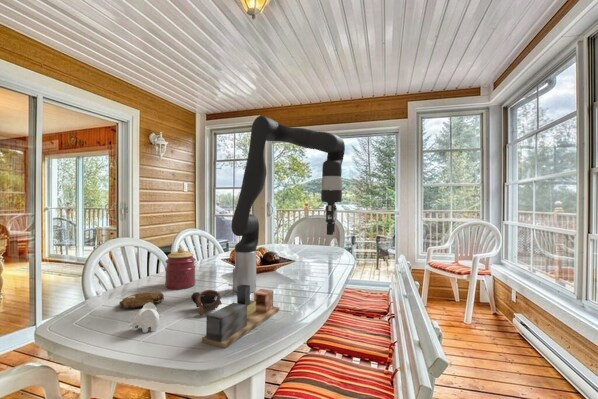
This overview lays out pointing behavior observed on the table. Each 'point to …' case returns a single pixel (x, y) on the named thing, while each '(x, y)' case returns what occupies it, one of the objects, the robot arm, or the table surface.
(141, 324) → the elephant figurine
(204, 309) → the pottery mug
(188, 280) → the canister
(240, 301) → the olive bar with post
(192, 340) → the table surface
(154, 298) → the decorative rock
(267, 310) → the block assembly on base
